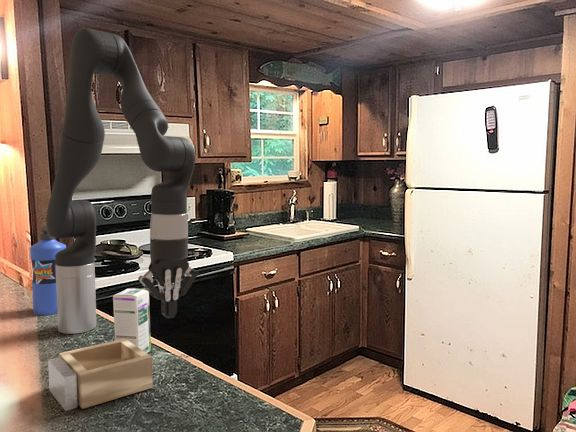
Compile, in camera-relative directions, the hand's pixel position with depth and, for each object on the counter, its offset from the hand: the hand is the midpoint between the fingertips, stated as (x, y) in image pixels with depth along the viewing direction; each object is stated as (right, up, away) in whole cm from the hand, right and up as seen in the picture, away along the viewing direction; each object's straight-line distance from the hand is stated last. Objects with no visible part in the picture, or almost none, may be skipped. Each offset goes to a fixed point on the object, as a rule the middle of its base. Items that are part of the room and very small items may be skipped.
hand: (169, 317), depth 101 cm
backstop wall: (-16, -12, -13) cm, 24 cm away
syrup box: (-10, -10, +8) cm, 16 cm away
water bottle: (-44, -7, +40) cm, 60 cm away
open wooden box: (-10, -12, -8) cm, 17 cm away
